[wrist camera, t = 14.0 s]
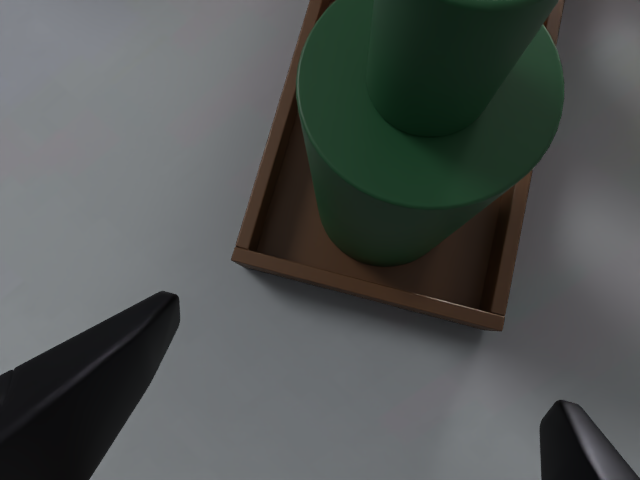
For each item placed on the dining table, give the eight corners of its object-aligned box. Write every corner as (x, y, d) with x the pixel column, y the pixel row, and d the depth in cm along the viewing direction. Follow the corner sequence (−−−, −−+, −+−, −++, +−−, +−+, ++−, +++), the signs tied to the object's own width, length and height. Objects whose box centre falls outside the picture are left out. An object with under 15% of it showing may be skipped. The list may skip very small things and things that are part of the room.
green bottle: (420, 289, 19) (644, 203, 5) (296, 233, 19) (187, 23, 6) (471, 168, 20) (781, -190, 6) (350, 120, 20) (371, -303, 7)
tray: (485, 330, 19) (502, 331, 17) (241, 266, 20) (230, 260, 18) (585, -182, 23) (608, -228, 21) (384, -212, 24) (387, -259, 22)
